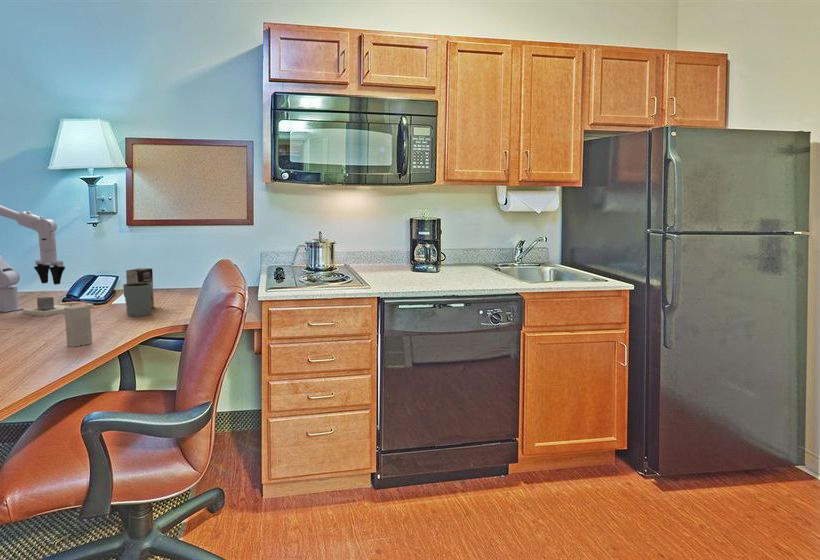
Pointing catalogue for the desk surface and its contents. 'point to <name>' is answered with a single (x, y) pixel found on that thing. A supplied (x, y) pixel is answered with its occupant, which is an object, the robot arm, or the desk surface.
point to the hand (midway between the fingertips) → (50, 283)
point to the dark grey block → (45, 303)
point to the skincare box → (78, 325)
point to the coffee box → (141, 278)
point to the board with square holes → (55, 309)
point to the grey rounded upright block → (138, 298)
